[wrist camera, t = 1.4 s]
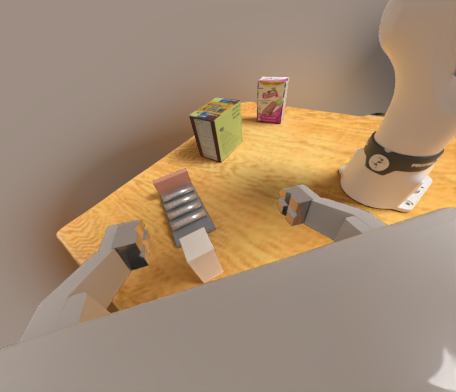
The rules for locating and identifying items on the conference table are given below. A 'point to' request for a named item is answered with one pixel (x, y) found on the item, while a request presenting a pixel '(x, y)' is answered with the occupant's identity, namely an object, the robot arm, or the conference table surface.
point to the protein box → (218, 128)
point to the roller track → (182, 205)
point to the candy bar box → (271, 99)
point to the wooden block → (201, 255)
